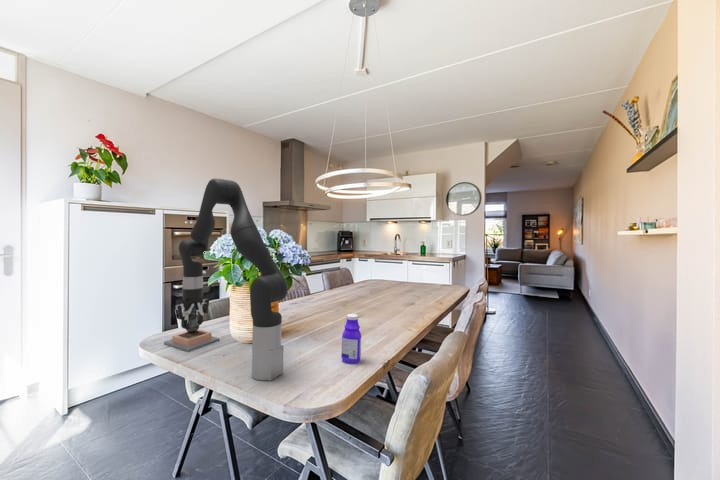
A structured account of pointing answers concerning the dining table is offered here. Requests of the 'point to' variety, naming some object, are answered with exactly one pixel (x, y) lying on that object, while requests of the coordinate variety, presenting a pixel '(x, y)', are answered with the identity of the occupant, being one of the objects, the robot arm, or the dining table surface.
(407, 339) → the dining table surface
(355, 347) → the bottle
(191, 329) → the dark grey upright piece
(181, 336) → the tray
